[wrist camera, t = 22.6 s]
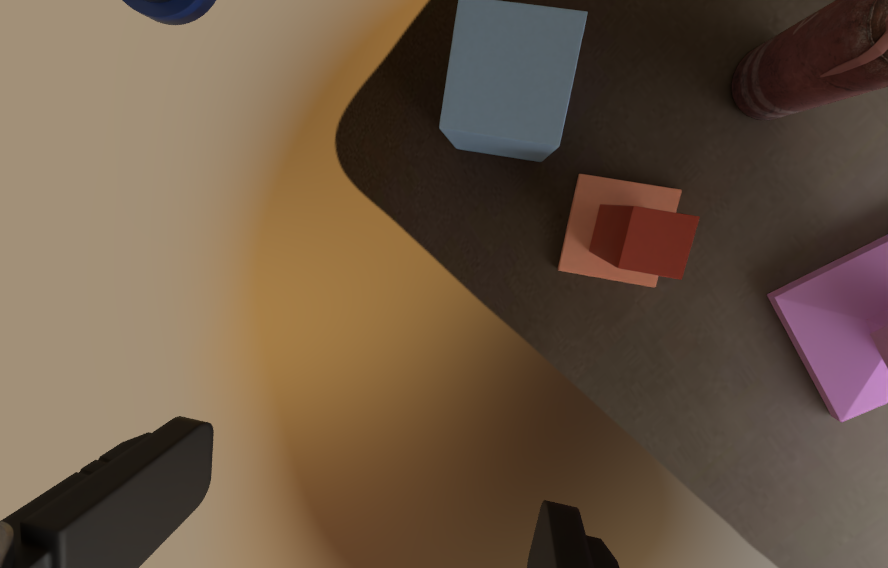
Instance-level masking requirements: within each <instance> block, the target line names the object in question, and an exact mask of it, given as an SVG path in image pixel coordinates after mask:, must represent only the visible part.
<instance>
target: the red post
mask: <svg viewBox="0 0 888 568" xmlns="http://www.w3.org/2000/svg"><path fill="white" fill-rule="evenodd" d="M699 218H700V217H699V216H692V215H686V214H680V213H674V212H668V211H662V210H656V209H650V208H644V207H638V206H628V205H608V204H600V207H599V211H598V215H597V219H596V223H595V227H594V232H593V236H592V240H591V244H590V248H589V252H591V253H593V254H594V255H596V256H598V257H599V258H601V259H603V260H605V261H606V262H608V263H610V264H611V265H613V266H615V267H617V268H619V269H624V270H630V271H635V272H641V273H647V274H652V275H658V276H663V277H669V278H674V279H680V280H681V279H682V276H683V273H684V270H685V266H686V263H687V259H688V256H689V252H690V249H691V246H692V242H693V239H694V235H695V232H696V228H697V225H698V221H699Z"/></svg>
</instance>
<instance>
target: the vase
mask: <svg viewBox="0 0 888 568" xmlns="http://www.w3.org/2000/svg"><path fill="white" fill-rule="evenodd" d="M767 297H768V298H769V300H770V302H771V304H772V306H773V308H774V310H775V311H776V313H777V315H778V317H779V319H780V321H781V323H782V325H783V326H784V328H785V330H786V332H787V334H788V336H789V338H790V339H791V341H792V343H793V345H794V347H795V349H796V351H797V353H798V354H799V356H800V358H801V360H802V362H803V364H804V366H805V367H806V369H807V371H808V373H809V375H810V377H811V379H812V381H813V382H814V384H815V386H816V388H817V390H818V392H819V394H820V395H821V397H822V399H823V401H824V403H825V405H826V407H827V409H828V410H829V412H830V414H831V416H832V417H834V418H835V419H837V420H838V421H840V422H844V421H846V420H848V419H851V418H853V417H856V416H858V415H860V414H863V413H865V412H867V411H870V410H872V409H875V408H877V407H879V406H882V405H884V404H887V403H888V234H887V235H885V236H883V237H881V238H879V239H877V240H875V241H873V242H871V243H869V244H867V245H865V246H863V247H861V248H859V249H857V250H855V251H853V252H851V253H849V254H847V255H845V256H843V257H841V258H839V259H837V260H835V261H833V262H831V263H829V264H827V265H825V266H823V267H821V268H819V269H817V270H815V271H813V272H811V273H809V274H807V275H805V276H803V277H801V278H799V279H797V280H795V281H793V282H791V283H789V284H787V285H785V286H783V287H781V288H779V289H777V290H775V291H773V292H771V293H769V294H767Z"/></svg>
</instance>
